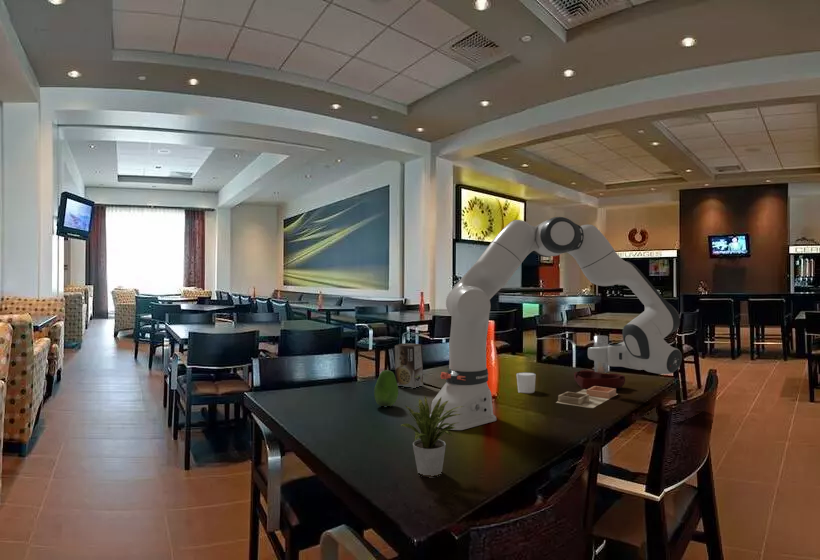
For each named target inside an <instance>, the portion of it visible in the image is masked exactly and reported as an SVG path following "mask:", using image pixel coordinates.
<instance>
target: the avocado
mask: <svg viewBox="0 0 820 560" xmlns="http://www.w3.org/2000/svg"><path fill="white" fill-rule="evenodd" d="M373 395H374V400H375V402H376V404H377V405H378V406H380V407H381V406H390V407H392V406H394V404H395V403H396V401H397V400H398V397H399V387H398V385H397V381H396V374H395V373H394V372H393V370H392V371H391V370H389V369H384V370H382V371H381V373H380V374H379V375H378V378H377V380H376V383H375V386H374V389H373Z"/></svg>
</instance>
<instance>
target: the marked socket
mask: <svg viewBox="0 0 820 560" xmlns="http://www.w3.org/2000/svg"><path fill="white" fill-rule="evenodd" d="M586 390H587V394H589V396H594V397H601V398H608V399H609V398H610V399H612V398H614V397H615V396H614V395H616V394H617V389H615V388H607V387H599V386H593V387H591V388H589V389H586ZM613 396H614V397H613ZM616 396H617V395H616ZM611 397H612V398H611ZM610 399H609V400H610Z"/></svg>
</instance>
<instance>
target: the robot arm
mask: <svg viewBox="0 0 820 560" xmlns="http://www.w3.org/2000/svg"><path fill="white" fill-rule="evenodd" d="M531 253H532V254H535V255H536V256H540V257H542V258H550V257H556V256H560V255H562V254H565V253H567V254H569V255H570V256H572V257H573V259H574V260H575V262H576V264H577V265H578V266H579V268H580V270H581V272H582V273H583V275H584V276H585V278H586V279H587V280H588V281H589V282H590V283H591V284H593V285H596V286H600V287H609V286H615V285H623V286H626V287H628V288H629V289H630V290H631V291H632V293H633V294H634V295H635V296H636V297H637V299H639V301H640V302H641V304H642V305H644V311H642V312H641V313H639V315H638V316H636V317H634V318H633V319H632V320H630V321H629V322H628V323H627V324H626V325H624V326H623V328H622V338H623V341H622V342H619V343H616V344H615V343H614V344H610V345H609V344H608V346H602V347H594V346H592V347H591V346H590V347H588V348H587V358H588V359H589V360H590V361H593V362H594V361H598V362H601V363H608V367H617V368H618V367H621V368H625V369H632V370H638V371H641V370H642V371H643V370H644V371H645V372H648V373H653V374H658V375H659V374H660V375H669V374H670V375H671V374H673V373H675V372H676V371H677V370H678V369H679V368H680V366H681V364H682V360H683V354H682V352H681V351H680V349H679V348H676V347H673V346H672V345H670V344H669V343H668V342H667V341H666V340H665V338H666V337H668V336H669V335H671V334H672V333H674V332H676V331H677V330H678V329H679V327H680V326H681V319H680V315H679V314H680V313H679V312H678V310H677V309H676V308H675V307H674V306H673V305H672V304H671V303H670V302H668V301H667V300H666V298H664V297H663V296H662V294H661V293H660V292H659V291H658V289H656V288H655V286H654V285H653V284H652V282H650V280H649V279H648V278H647V277H646V275H645V274H644V273H643V272H642V271H641V270H640V269H639V268H638V267H637V266H636V265H635V264H634V263H632V262H631V261H628V260H626V261H625V260H624V259H623V258H621V257H620V256H619V254H618V253H617V252H616V251H615V248H614V247H613V245H612V244H611V243H610V241H609V240H608V239H607V238H606V236H605V235H604V234H603V233H602V231H600V229H598V227H596V226H595V225H593V224H582V225H580V224H577V223H575V222H574V221H573V220H571V219H569V218H568V217H564V216H554V217H551V218H549V219H547V220H544V221H542V222H541V223H539V224H537V225H531V224H529V223H528V222H527V221H524V220H523V219H514V220H511V221H510V222H509V223H508V224H506V225H505V226H504V227H503V228H502V230H500V231H499V232H498V234H496V236H495V237H494V238H493V239H492V241H491V242H490V244H489V245H488V246H487V247H486V249H484V251H483V252H482V254H481V255H480V256H479V258H478V259H477V260H476V261H475V262H474V263H473V265H472V266H471V267H470V268H469V269H468V270H467V271H466V273H465V274H464V275H463V276H462V277H461V278H460V280H459V281H457V283H456V284H455V285H454V286H453V288H452V289H451V290H450V292H449V293H448V294H447V296H446V298H445V307H446V311H447V312H448V313H449V315H450V316H451V324H450V333H449V341H448V353H449V354H448V356H449V357H448V360H449V361H448V366H449V367H448V368H447V372H445V371H441V374H440V378H441V380H445V383H444V385H443V386H442V387H441V389H440V390H439V391H438V393H437V394H436V396H435V397H434V398H433V399H432V402H431V408H430V416H431V413H432V411H433V409H434V407H435V405H436V404H437V402H438V400H439V399H440V398H441V402H440V405H439V407H440V406H441V405H442V404H443V403H444V402H446V401H448V400H449V401H448V403H447V404H446V405H445V407H444V411H445V412H444V411H443V413H442V414H441V416H440V418H441V417H442V416H443V415H444V414H445V413H446V411H449V410H451V409H453V408H456V407H460V408H456V409H454V410H452V411H457V412H453V413H451V414H450V415H453V414H460V415H456V416H452V417H449V418H446V419H445V420H444V421H443V420H442V421H443V423H442V424H444V423H449V424H452V423H456V424H453V425H454V426H455V427H454V426H453V425H452V427H454V429H450V430H452V431H463V430H467V429H470V428H475V427H478V426H482V425H485V424H488V423H492V422H496V421H497V415H495V414H494V407H493V397H492V391H491V389H490V387H489V386H488V381H489V371H488V368H487V339H488V338H487V337H488V336H487V335H488V329H489V323H490V322H489V321H490V320H489V319H490V312H491V307H492V306H491V299H492V298H493V297H494V296H495V295H496V294H497V293H498V292H499V291H500V290H501V289H502V288H503V287H505V286H506V285H507V283H508V281H509V280H510V279H511V278H512V277H513V275H514V274H515V272H516V271H517V270H518V269H519V267H520V266H521V265H522V263H524V260H525V259H526V258H527V256H529V255H530V254H531ZM461 406H464V407H461ZM438 409H439V408H438ZM452 411H451V412H452ZM449 413H450V412H449ZM447 414H448V413H447ZM447 414H446V415H447ZM446 415H445V416H446ZM442 421H441V422H442ZM441 422H440V423H439V424H438V426H437V427H436V428H438V427H439V425H440V424H441ZM448 426H449V425H445V426H443V427H442V428H441V429H443V428H445V427H448ZM455 428H456V429H455ZM450 430H449V431H450Z"/></svg>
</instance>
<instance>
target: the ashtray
mask: <svg viewBox="0 0 820 560" xmlns="http://www.w3.org/2000/svg"><path fill="white" fill-rule="evenodd" d="M573 378H574V381H575V383H577V385H578V387H579V388H580V389H581V390H584V389H585V390H587V389H589V388H591V387H593V386H599V387H607V388H615V389H616V390H621V388H623V386H624V385H625V384H626V376H625V375H623V374H618V373H599V372H595V371H594V370H589V369H587V370H586V369H583V370H579V371H574V372H573Z"/></svg>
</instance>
